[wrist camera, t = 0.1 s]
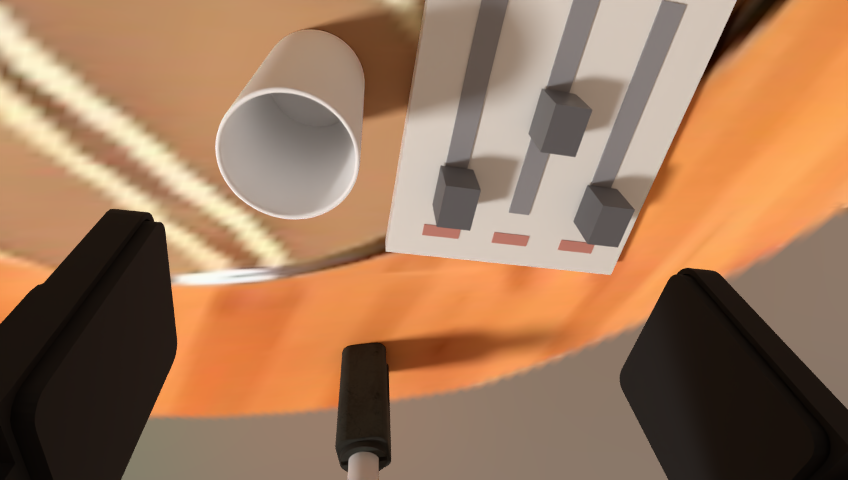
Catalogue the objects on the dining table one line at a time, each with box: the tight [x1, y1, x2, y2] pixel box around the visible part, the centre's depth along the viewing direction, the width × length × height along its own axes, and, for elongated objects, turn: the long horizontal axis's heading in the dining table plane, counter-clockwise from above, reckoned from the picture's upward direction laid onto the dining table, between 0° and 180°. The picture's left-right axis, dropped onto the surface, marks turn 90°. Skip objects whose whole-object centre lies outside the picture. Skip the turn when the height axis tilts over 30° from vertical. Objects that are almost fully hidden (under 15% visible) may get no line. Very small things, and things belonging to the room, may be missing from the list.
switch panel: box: [386, 0, 737, 275], centre depth 43 cm, size 32×24×6 cm
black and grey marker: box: [335, 343, 391, 480], centre depth 51 cm, size 5×5×25 cm
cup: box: [215, 29, 365, 219], centre depth 37 cm, size 8×8×16 cm
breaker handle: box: [528, 89, 592, 157], centre depth 42 cm, size 4×3×4 cm
